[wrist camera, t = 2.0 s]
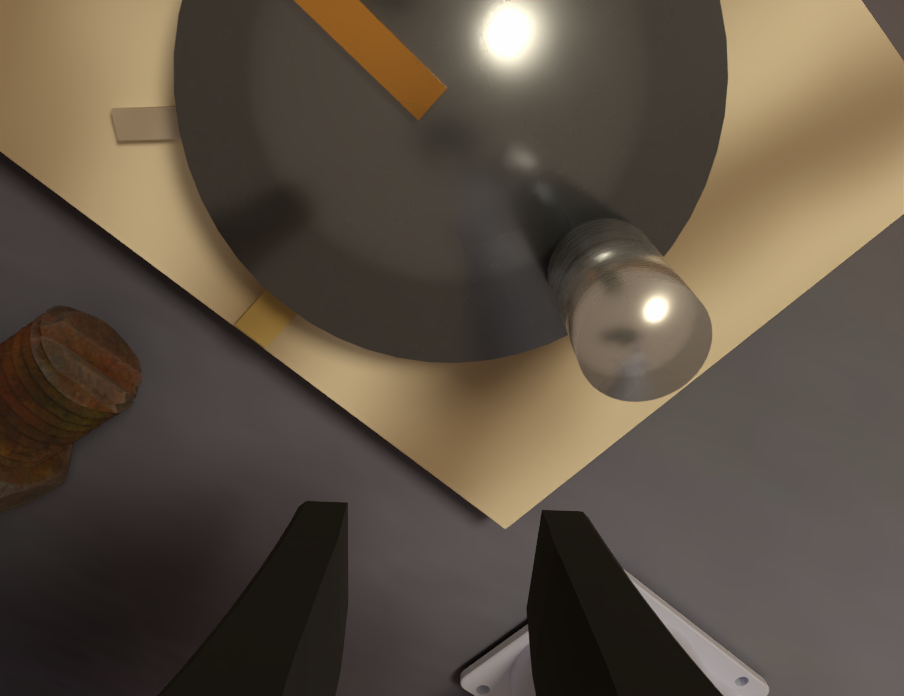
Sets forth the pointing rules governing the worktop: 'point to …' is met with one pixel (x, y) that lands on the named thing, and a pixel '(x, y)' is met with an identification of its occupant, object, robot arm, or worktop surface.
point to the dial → (464, 170)
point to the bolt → (57, 396)
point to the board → (512, 377)
